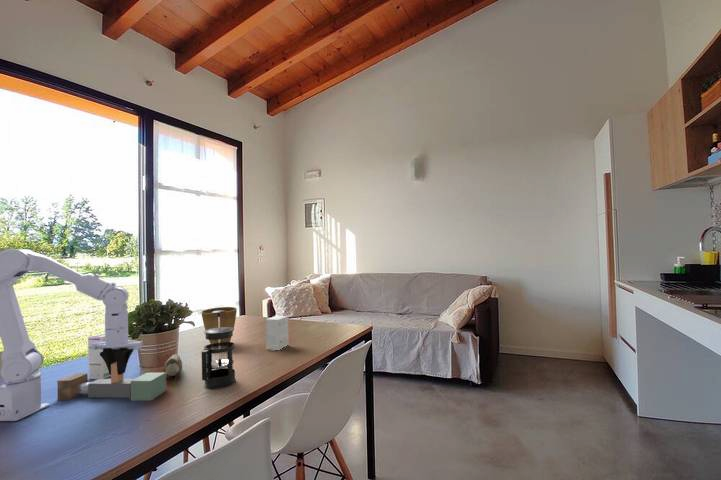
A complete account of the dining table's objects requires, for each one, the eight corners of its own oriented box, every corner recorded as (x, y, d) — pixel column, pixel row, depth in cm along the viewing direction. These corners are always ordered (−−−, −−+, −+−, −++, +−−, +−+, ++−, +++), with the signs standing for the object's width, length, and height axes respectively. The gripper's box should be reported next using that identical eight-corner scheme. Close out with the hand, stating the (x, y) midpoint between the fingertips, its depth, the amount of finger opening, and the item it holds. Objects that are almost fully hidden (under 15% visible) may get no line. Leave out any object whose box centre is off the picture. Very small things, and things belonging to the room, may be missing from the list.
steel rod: (75, 393, 106) (75, 385, 106) (82, 390, 109) (82, 382, 109) (117, 393, 105) (117, 385, 105) (123, 390, 108) (123, 382, 108)
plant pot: (204, 343, 166) (203, 308, 166) (238, 339, 170) (237, 306, 171) (199, 351, 152) (199, 313, 152) (237, 347, 156) (236, 310, 156)
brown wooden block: (57, 399, 105) (57, 380, 105) (75, 391, 111) (75, 373, 111) (70, 399, 104) (70, 380, 105) (87, 391, 110) (87, 373, 111)
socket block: (130, 400, 102) (130, 381, 103) (147, 390, 109) (147, 372, 110) (150, 400, 102) (150, 380, 102) (166, 390, 109) (165, 372, 109)
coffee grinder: (221, 376, 121) (220, 307, 121) (243, 379, 117) (242, 308, 118) (192, 388, 110) (191, 313, 110) (216, 392, 106) (214, 314, 107)
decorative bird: (184, 367, 131) (183, 347, 132) (180, 382, 117) (180, 358, 117) (167, 370, 129) (167, 349, 129) (162, 385, 114) (161, 361, 115)
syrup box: (102, 379, 120) (101, 336, 121) (87, 379, 122) (87, 336, 122) (117, 373, 126) (116, 332, 126) (103, 373, 127) (102, 332, 128)
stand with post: (88, 397, 105) (87, 365, 105) (99, 392, 109) (98, 360, 109) (130, 397, 104) (129, 364, 104) (139, 392, 108) (139, 360, 108)
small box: (276, 345, 159) (275, 315, 159) (289, 345, 156) (288, 315, 157) (265, 350, 151) (265, 318, 151) (278, 351, 149) (278, 319, 149)
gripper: (148, 324, 110) (149, 368, 110) (104, 325, 112) (105, 369, 111) (132, 329, 103) (133, 377, 103) (85, 330, 105) (85, 377, 104)
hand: (117, 373), depth 107 cm, fingers closed on stand with post, 2 cm apart
